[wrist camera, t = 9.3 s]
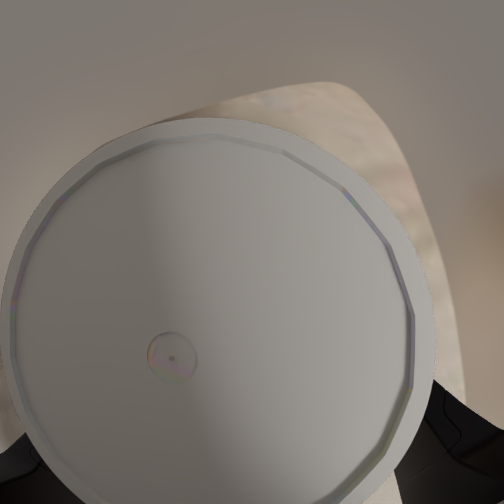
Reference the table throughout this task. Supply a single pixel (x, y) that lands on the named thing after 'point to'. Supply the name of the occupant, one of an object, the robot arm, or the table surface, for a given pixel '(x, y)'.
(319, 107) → the table surface
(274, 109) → the table surface
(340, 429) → the bottle
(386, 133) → the table surface
